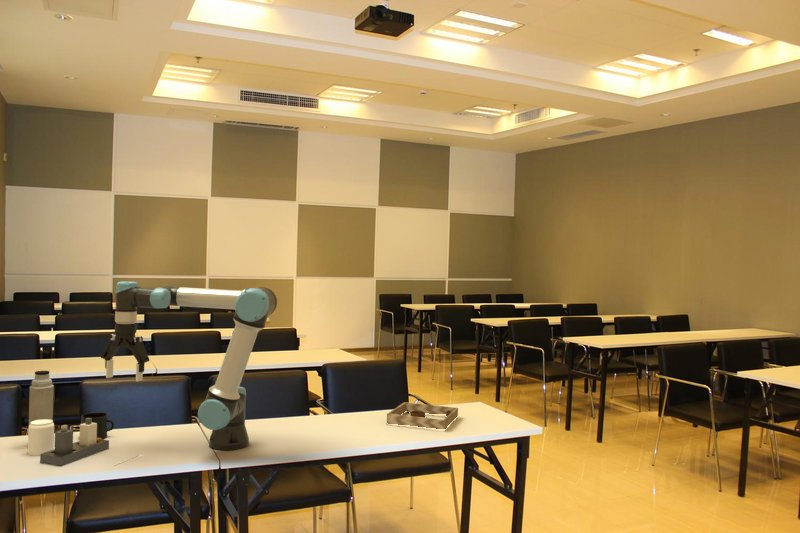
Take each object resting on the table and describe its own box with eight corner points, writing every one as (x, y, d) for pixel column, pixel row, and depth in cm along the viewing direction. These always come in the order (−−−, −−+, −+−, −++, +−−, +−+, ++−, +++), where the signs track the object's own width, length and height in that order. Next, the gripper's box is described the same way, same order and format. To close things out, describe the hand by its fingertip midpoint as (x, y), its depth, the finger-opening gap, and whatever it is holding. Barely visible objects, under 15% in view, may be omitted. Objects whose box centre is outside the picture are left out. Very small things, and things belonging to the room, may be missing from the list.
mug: (111, 440, 251) (112, 417, 251) (78, 441, 248) (78, 418, 248) (115, 433, 260) (116, 411, 260) (83, 434, 257) (84, 412, 257)
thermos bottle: (41, 440, 247) (43, 368, 247) (57, 443, 245) (59, 370, 244) (23, 446, 240) (25, 371, 239) (39, 448, 237) (41, 373, 237)
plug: (96, 450, 235) (97, 417, 235) (87, 453, 231) (88, 420, 231) (87, 448, 236) (88, 416, 236) (79, 451, 232) (80, 419, 232)
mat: (138, 456, 232) (138, 455, 232) (114, 466, 221) (114, 465, 221) (112, 452, 236) (112, 451, 236) (87, 462, 224) (87, 461, 224)
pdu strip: (89, 448, 240) (89, 435, 240) (108, 451, 237) (109, 438, 237) (40, 465, 219) (40, 452, 219) (60, 469, 216) (60, 455, 216)
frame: (457, 418, 305) (458, 407, 305) (444, 431, 280) (444, 420, 280) (403, 412, 313) (404, 402, 313) (386, 424, 288) (387, 413, 288)
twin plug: (72, 458, 224) (73, 424, 224) (63, 462, 221) (64, 427, 220) (63, 457, 226) (64, 423, 225) (54, 460, 222) (55, 426, 222)
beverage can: (34, 451, 234) (35, 418, 234) (57, 451, 235) (58, 419, 235) (23, 458, 226) (24, 424, 226) (47, 458, 227) (48, 424, 227)
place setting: (414, 417, 307) (414, 404, 307) (452, 423, 297) (453, 410, 297) (397, 424, 291) (398, 412, 291) (437, 431, 282) (438, 418, 282)
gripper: (160, 323, 238) (158, 380, 238) (106, 319, 246) (104, 374, 246) (146, 325, 231) (144, 384, 231) (91, 321, 239) (89, 377, 239)
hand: (124, 379), depth 239 cm, fingers open, 13 cm apart
